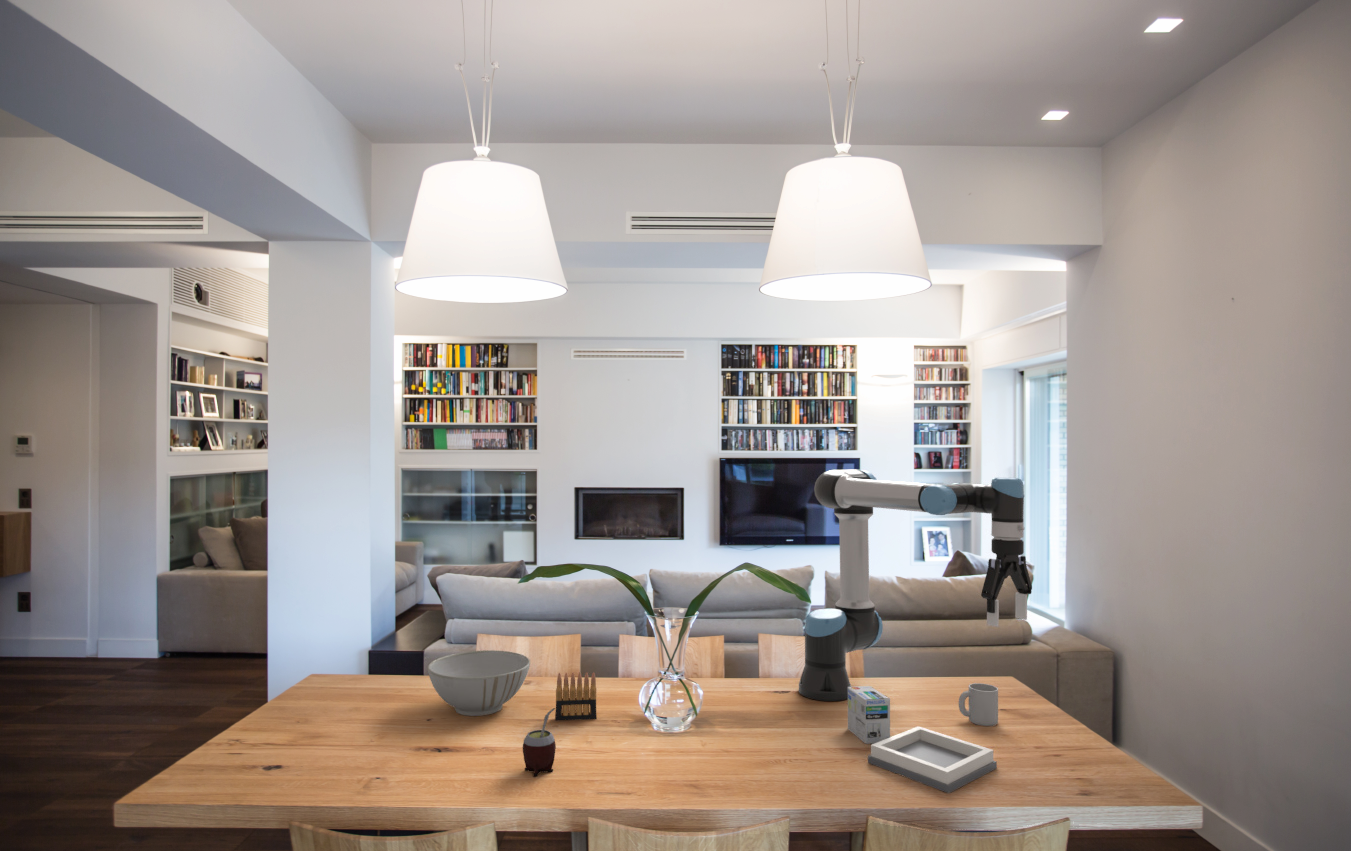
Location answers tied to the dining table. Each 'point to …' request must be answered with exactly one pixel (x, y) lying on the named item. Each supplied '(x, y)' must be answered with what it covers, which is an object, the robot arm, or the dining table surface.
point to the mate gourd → (539, 750)
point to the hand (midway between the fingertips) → (1007, 622)
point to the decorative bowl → (478, 679)
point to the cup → (980, 704)
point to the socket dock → (933, 758)
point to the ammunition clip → (576, 698)
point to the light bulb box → (868, 714)
